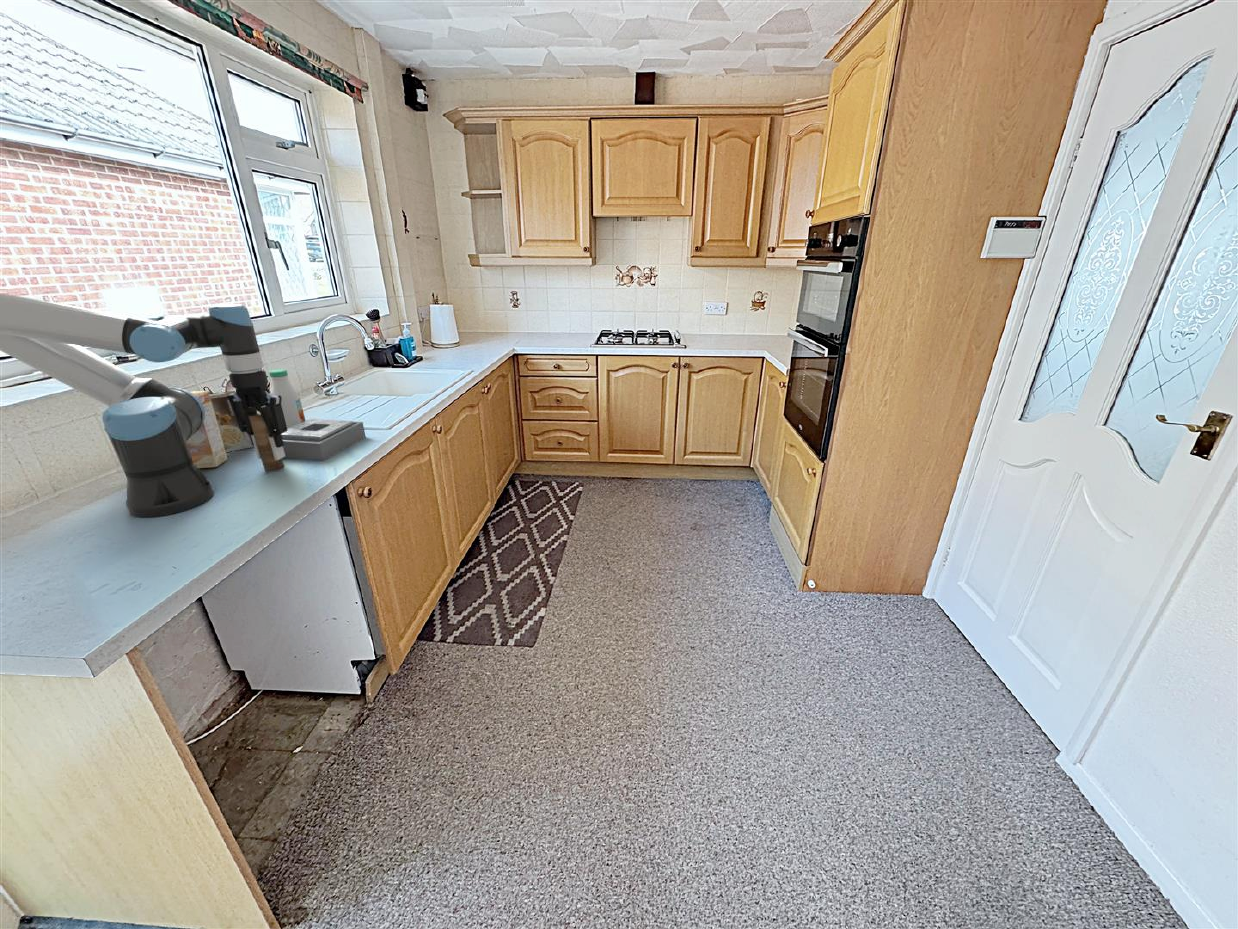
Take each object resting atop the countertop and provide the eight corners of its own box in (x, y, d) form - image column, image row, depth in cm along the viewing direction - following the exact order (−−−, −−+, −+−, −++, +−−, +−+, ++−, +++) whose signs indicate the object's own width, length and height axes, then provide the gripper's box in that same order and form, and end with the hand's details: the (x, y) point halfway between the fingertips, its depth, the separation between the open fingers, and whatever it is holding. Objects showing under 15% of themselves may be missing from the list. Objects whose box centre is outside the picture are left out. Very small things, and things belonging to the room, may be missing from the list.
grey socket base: (323, 460, 139) (319, 443, 137) (269, 456, 141) (264, 439, 139) (365, 437, 156) (362, 421, 154) (316, 433, 158) (312, 418, 156)
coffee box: (251, 441, 152) (236, 389, 145) (255, 447, 147) (239, 394, 141) (214, 448, 146) (196, 395, 140) (216, 455, 142) (198, 400, 135)
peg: (275, 472, 131) (259, 417, 125) (260, 471, 132) (244, 416, 126) (288, 465, 135) (273, 412, 129) (273, 464, 136) (258, 411, 130)
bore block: (324, 453, 141) (320, 436, 139) (279, 450, 143) (275, 433, 141) (355, 436, 153) (352, 421, 151) (314, 433, 155) (310, 418, 153)
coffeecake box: (149, 473, 129) (123, 398, 123) (165, 464, 135) (141, 393, 129) (216, 467, 133) (195, 394, 126) (228, 459, 139) (209, 389, 133)
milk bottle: (298, 436, 156) (282, 373, 148) (274, 436, 156) (256, 373, 148) (313, 428, 163) (297, 367, 155) (289, 428, 163) (273, 367, 155)
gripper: (289, 368, 125) (311, 454, 135) (228, 365, 128) (254, 450, 137) (265, 375, 118) (290, 465, 128) (201, 371, 121) (230, 460, 130)
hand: (271, 457), depth 132 cm, fingers closed on peg, 4 cm apart
